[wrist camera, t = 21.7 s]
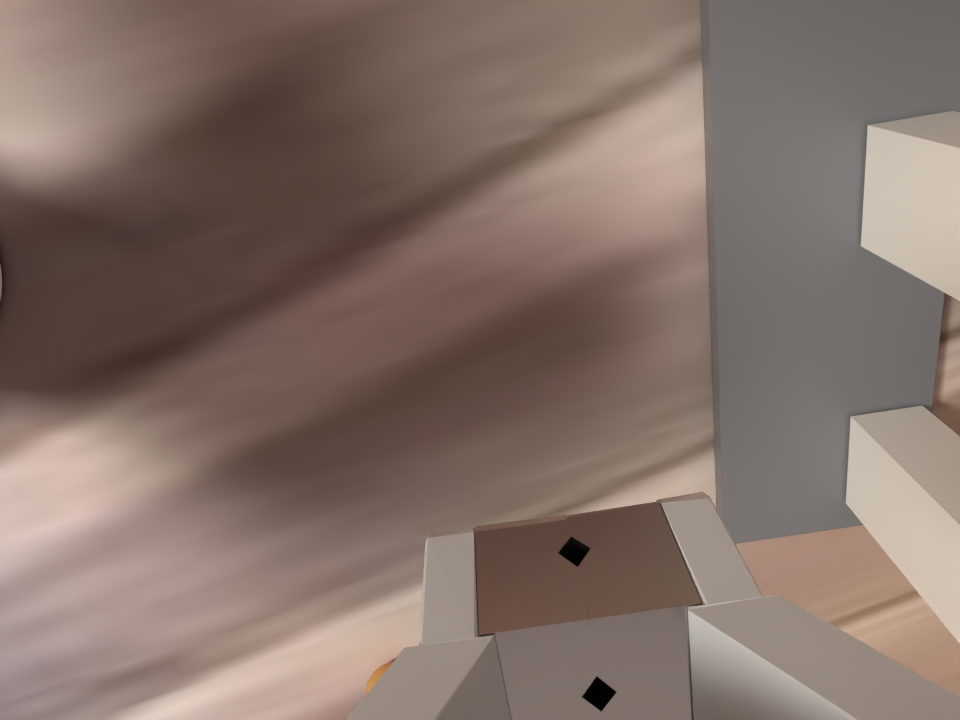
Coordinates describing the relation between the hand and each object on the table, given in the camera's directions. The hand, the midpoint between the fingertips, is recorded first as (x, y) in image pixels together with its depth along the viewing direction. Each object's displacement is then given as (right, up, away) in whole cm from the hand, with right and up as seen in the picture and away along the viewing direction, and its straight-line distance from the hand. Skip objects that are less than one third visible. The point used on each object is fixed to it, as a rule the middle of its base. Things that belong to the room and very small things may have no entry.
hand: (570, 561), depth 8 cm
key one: (+22, -3, +35) cm, 42 cm away
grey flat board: (+17, +11, +30) cm, 36 cm away
